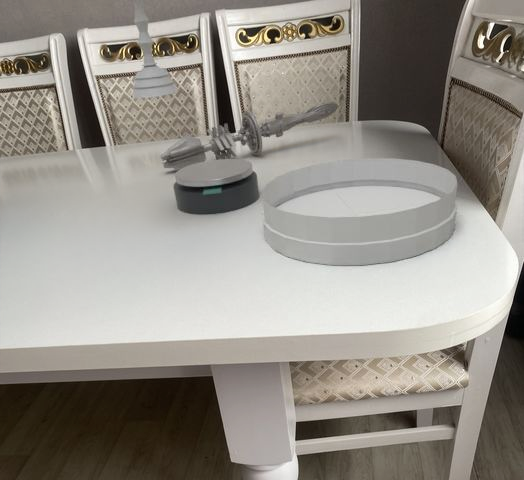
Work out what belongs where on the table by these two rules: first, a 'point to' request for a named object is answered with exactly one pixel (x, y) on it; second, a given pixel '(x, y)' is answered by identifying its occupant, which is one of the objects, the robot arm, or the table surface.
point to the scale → (217, 196)
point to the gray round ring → (360, 211)
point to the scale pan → (213, 172)
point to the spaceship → (240, 136)
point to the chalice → (149, 63)
